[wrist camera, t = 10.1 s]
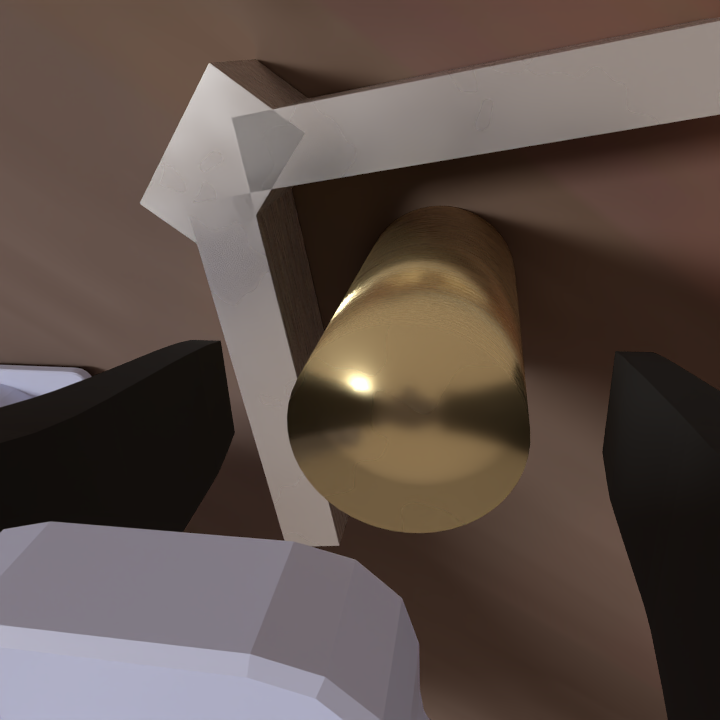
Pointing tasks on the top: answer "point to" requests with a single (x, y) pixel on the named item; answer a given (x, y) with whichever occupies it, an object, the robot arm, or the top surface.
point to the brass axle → (418, 380)
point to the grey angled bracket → (366, 155)
